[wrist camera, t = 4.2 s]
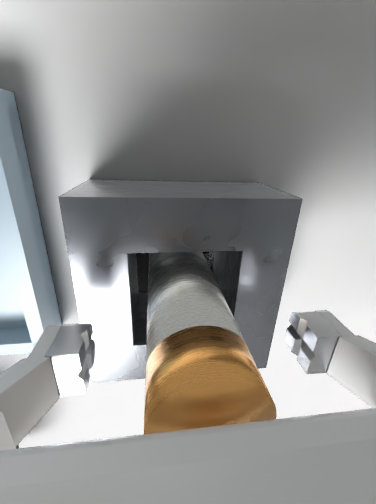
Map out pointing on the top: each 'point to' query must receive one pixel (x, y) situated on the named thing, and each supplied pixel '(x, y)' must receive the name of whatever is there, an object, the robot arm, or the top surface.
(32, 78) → the top surface
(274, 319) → the socket block
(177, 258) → the gold and grey cylinder
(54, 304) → the tray
